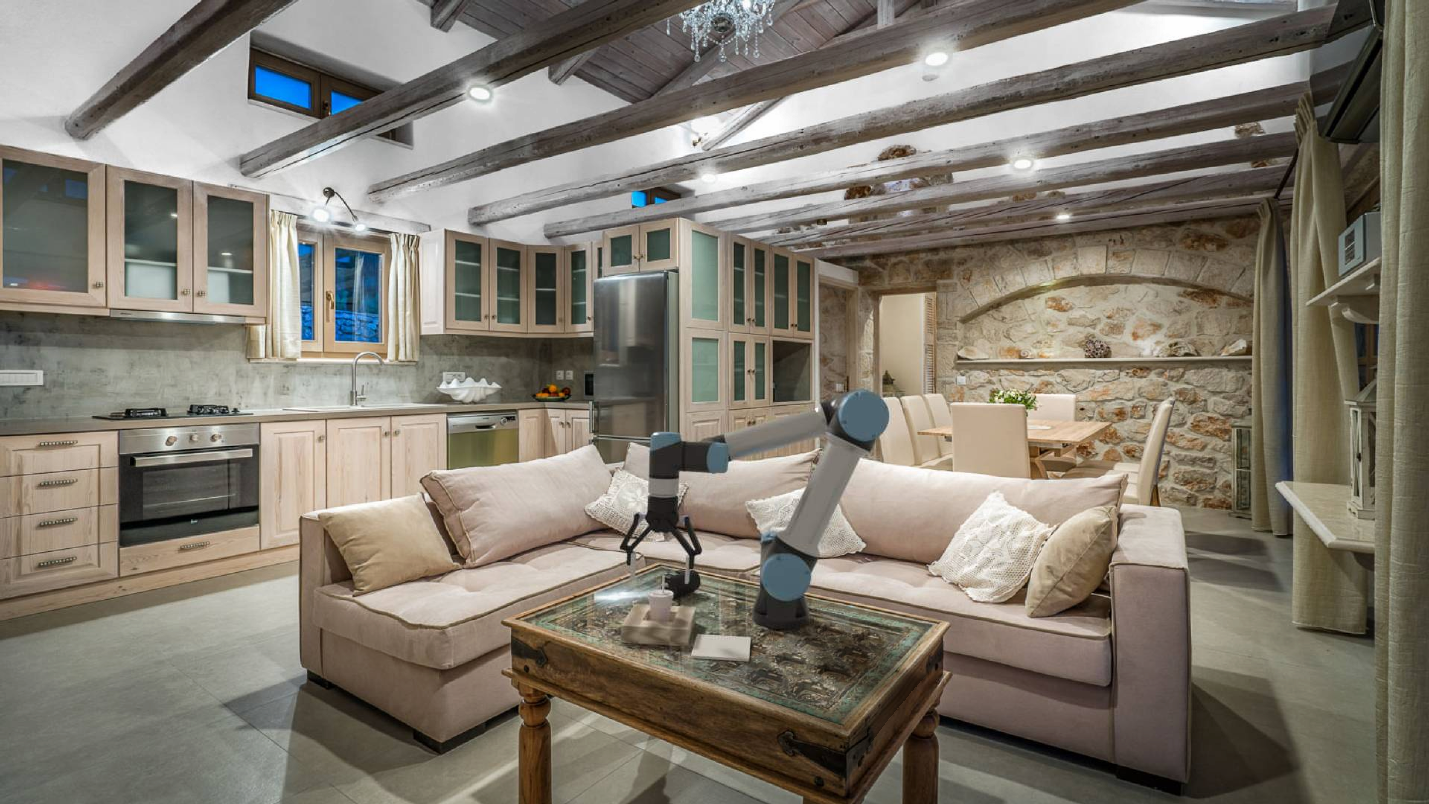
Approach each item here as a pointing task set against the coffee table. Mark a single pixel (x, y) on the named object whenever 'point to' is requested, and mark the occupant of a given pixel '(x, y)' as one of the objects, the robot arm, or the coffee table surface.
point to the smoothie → (660, 603)
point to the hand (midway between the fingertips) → (659, 580)
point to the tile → (721, 647)
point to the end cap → (682, 583)
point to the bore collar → (658, 626)
